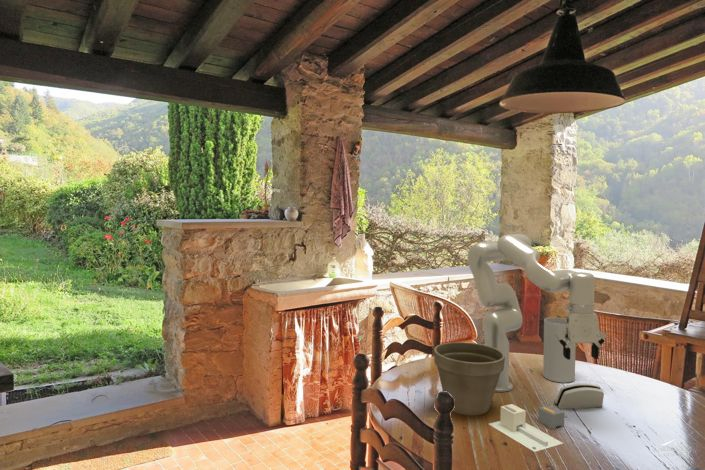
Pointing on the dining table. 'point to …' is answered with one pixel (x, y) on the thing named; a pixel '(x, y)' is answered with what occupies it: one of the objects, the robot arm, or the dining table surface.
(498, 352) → the plant pot
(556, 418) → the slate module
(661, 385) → the dining table surface
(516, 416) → the cream module
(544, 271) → the robot arm
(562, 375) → the cylinder vase
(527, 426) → the panel
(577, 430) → the dining table surface
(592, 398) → the off-white grooved curved block
